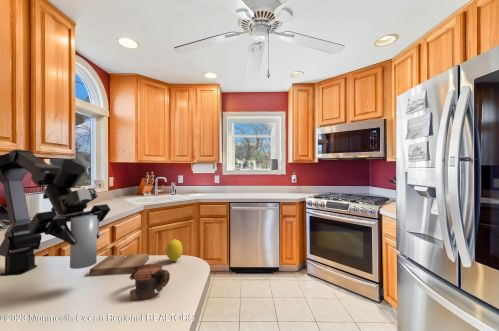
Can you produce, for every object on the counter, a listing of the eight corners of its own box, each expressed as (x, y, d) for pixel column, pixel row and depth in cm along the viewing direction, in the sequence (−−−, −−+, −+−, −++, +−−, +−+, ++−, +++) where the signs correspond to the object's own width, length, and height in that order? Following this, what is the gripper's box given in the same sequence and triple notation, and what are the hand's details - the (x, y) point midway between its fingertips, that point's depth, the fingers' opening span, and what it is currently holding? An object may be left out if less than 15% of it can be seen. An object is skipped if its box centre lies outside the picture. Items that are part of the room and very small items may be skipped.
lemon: (177, 264, 80) (177, 241, 80) (163, 263, 81) (163, 240, 82) (185, 259, 86) (185, 237, 86) (171, 258, 87) (171, 236, 87)
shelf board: (90, 275, 73) (90, 269, 73) (108, 261, 85) (108, 255, 85) (137, 272, 74) (137, 266, 74) (148, 259, 86) (148, 253, 86)
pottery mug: (117, 303, 58) (122, 267, 62) (144, 302, 66) (147, 270, 70) (158, 294, 55) (161, 258, 60) (181, 295, 63) (182, 262, 67)
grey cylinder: (64, 269, 61) (65, 219, 61) (78, 260, 67) (79, 215, 67) (88, 268, 62) (89, 218, 62) (100, 259, 68) (101, 214, 68)
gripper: (35, 180, 58) (61, 229, 53) (106, 178, 75) (131, 215, 71) (17, 211, 61) (41, 259, 56) (90, 202, 78) (113, 239, 73)
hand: (86, 240), depth 64 cm, fingers closed on grey cylinder, 6 cm apart
